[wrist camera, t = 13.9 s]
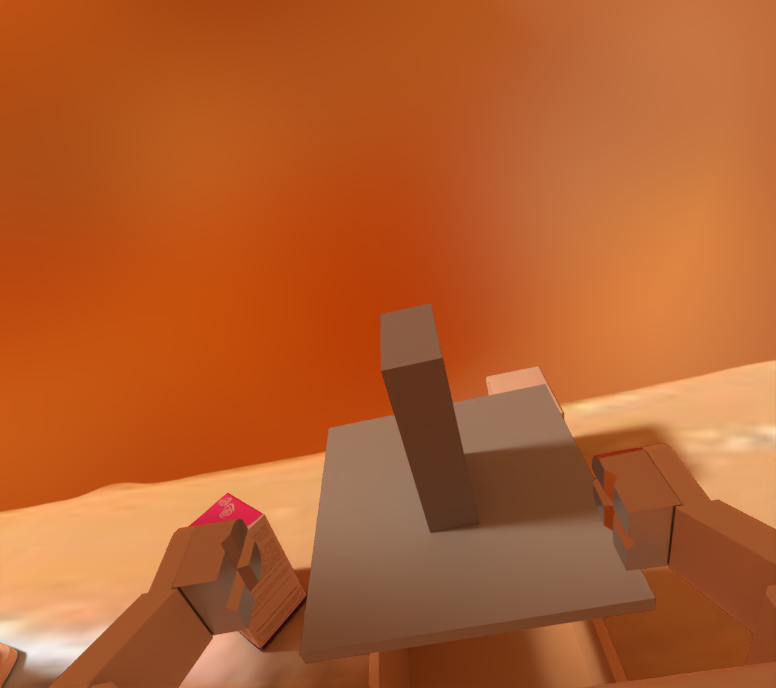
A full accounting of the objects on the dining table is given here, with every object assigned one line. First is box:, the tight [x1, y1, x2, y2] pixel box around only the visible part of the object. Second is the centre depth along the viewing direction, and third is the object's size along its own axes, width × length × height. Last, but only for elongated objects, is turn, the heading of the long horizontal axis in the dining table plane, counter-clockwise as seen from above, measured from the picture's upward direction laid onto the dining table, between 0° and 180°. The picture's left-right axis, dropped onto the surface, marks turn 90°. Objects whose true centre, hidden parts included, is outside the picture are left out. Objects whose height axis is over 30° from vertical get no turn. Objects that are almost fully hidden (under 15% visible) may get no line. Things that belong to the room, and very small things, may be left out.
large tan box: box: [369, 618, 628, 688], centre depth 34 cm, size 14×14×10 cm
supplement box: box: [188, 493, 307, 652], centre depth 43 cm, size 6×6×12 cm
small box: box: [486, 367, 564, 419], centre depth 49 cm, size 8×6×10 cm
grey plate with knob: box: [300, 303, 656, 663], centre depth 24 cm, size 15×15×11 cm
